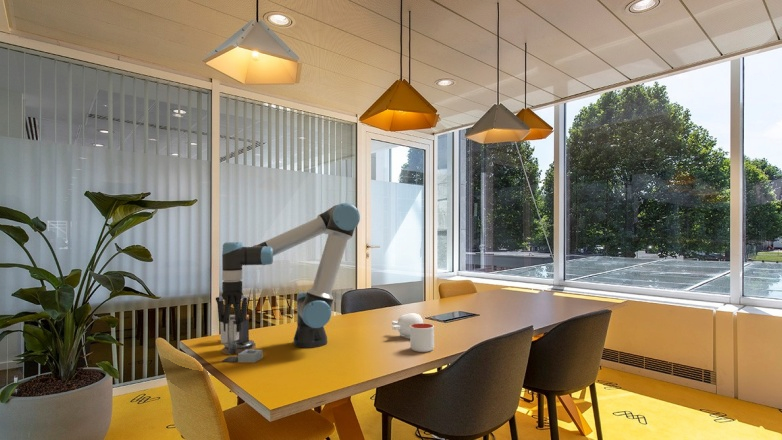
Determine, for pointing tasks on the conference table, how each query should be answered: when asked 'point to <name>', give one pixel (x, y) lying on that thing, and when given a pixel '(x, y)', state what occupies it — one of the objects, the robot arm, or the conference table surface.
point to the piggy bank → (406, 323)
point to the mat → (230, 359)
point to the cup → (422, 337)
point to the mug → (223, 334)
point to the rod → (231, 337)
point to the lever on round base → (242, 335)
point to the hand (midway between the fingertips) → (232, 339)
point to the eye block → (250, 355)
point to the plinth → (238, 349)
